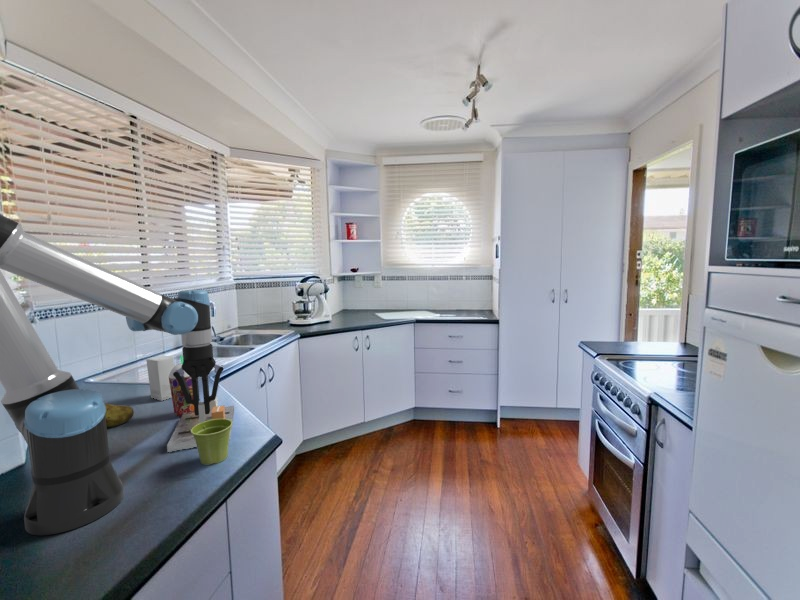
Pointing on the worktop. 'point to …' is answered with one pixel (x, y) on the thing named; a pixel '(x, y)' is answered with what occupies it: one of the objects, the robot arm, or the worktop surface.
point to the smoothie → (180, 392)
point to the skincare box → (160, 376)
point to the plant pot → (212, 440)
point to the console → (183, 434)
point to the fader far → (212, 404)
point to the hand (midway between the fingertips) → (203, 425)
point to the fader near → (218, 412)
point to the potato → (117, 414)
